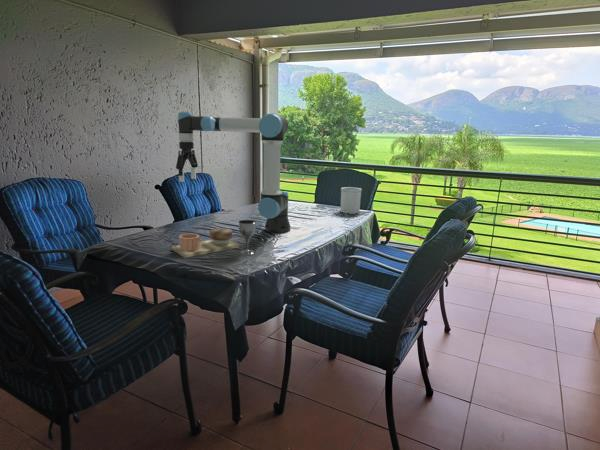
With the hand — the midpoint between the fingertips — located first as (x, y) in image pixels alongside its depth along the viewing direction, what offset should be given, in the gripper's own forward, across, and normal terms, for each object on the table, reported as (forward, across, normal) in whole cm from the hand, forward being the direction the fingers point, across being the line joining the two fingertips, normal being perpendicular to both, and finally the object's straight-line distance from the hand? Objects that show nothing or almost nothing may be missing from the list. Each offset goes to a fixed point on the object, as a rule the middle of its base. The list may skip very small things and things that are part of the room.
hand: (187, 180), depth 213 cm
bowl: (+26, +39, +20) cm, 51 cm away
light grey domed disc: (+26, +26, +30) cm, 48 cm away
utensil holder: (+28, -80, +86) cm, 120 cm away
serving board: (+28, +32, +25) cm, 50 cm away
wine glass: (+28, +32, +46) cm, 63 cm away
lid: (+23, +26, +30) cm, 46 cm away
